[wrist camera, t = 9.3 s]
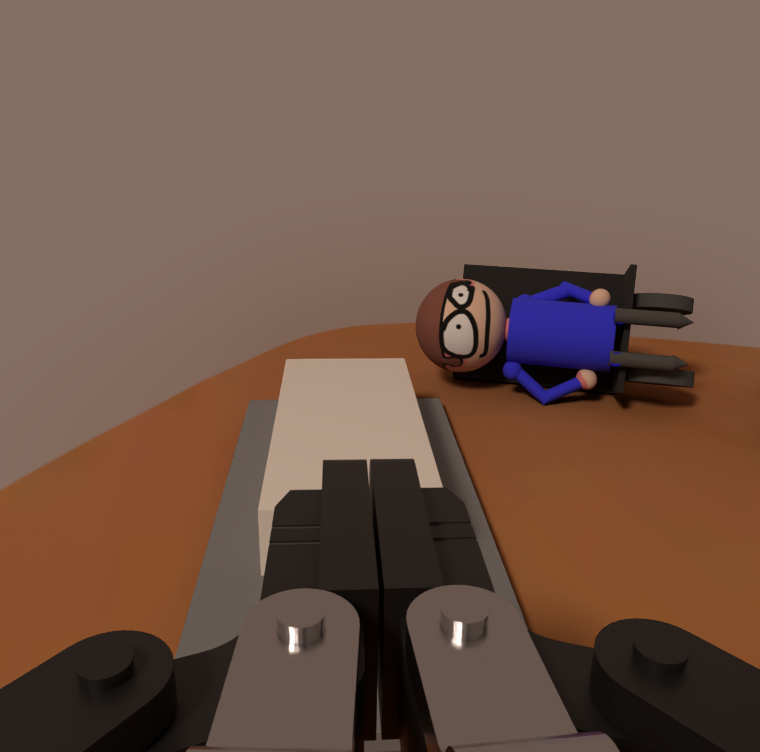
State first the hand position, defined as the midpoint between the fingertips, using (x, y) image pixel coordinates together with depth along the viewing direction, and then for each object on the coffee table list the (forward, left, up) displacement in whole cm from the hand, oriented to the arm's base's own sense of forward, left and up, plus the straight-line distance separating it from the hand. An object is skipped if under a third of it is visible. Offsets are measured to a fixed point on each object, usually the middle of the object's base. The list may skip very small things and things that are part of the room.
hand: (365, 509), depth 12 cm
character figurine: (-12, -27, -9) cm, 31 cm away
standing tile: (0, -10, -7) cm, 12 cm away
